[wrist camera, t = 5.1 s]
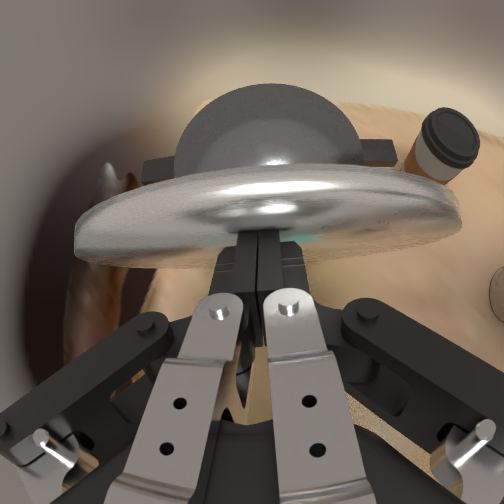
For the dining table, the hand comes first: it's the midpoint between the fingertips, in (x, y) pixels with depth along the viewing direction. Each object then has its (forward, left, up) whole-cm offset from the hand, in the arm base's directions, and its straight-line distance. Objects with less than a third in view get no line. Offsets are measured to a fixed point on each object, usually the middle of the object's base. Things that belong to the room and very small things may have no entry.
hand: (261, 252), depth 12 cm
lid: (+2, -2, -8) cm, 8 cm away
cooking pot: (+12, -11, -31) cm, 35 cm away
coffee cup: (-3, -29, -31) cm, 42 cm away
